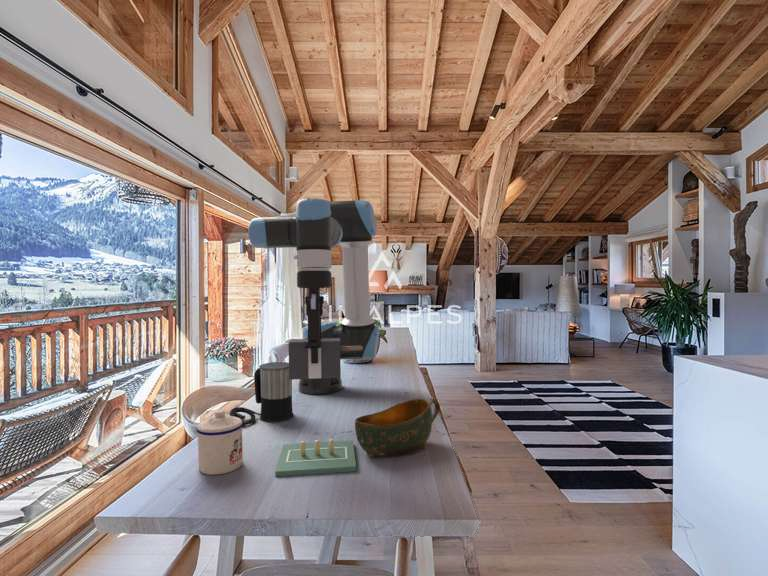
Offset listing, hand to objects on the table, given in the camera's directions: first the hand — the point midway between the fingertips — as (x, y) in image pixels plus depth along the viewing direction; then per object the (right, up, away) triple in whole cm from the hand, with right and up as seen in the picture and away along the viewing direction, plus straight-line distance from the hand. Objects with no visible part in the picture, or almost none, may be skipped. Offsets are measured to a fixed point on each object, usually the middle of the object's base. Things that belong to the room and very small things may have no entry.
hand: (315, 375), depth 96 cm
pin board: (+1, -18, -2) cm, 18 cm away
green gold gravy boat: (+19, -18, +3) cm, 26 cm away
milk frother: (-19, -18, +24) cm, 35 cm away
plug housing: (+2, 0, 0) cm, 3 cm away
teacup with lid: (-19, -18, -4) cm, 27 cm away
